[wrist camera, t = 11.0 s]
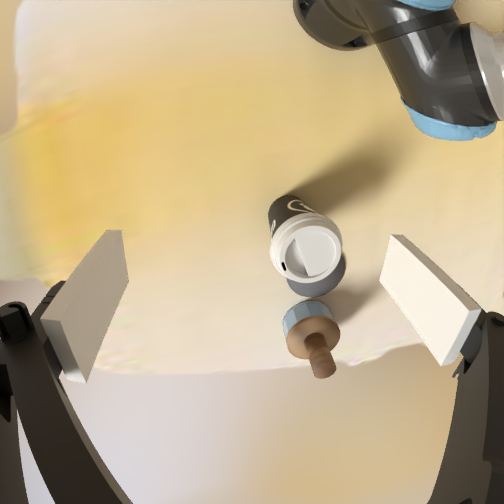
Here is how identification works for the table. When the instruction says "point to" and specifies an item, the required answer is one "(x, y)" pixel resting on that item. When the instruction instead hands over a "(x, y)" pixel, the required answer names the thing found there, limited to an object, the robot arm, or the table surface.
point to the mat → (319, 283)
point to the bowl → (304, 313)
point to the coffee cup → (302, 241)
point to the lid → (315, 343)
